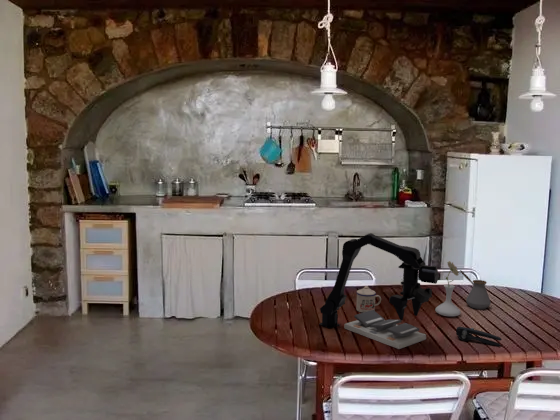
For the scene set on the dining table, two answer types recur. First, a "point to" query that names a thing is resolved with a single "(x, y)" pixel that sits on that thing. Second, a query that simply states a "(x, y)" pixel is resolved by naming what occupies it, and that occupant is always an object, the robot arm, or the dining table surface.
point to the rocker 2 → (385, 323)
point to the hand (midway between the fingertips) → (408, 317)
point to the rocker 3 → (403, 329)
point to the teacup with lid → (366, 300)
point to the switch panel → (385, 335)
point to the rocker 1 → (369, 318)
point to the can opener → (465, 336)
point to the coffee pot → (477, 294)
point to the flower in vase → (449, 297)
